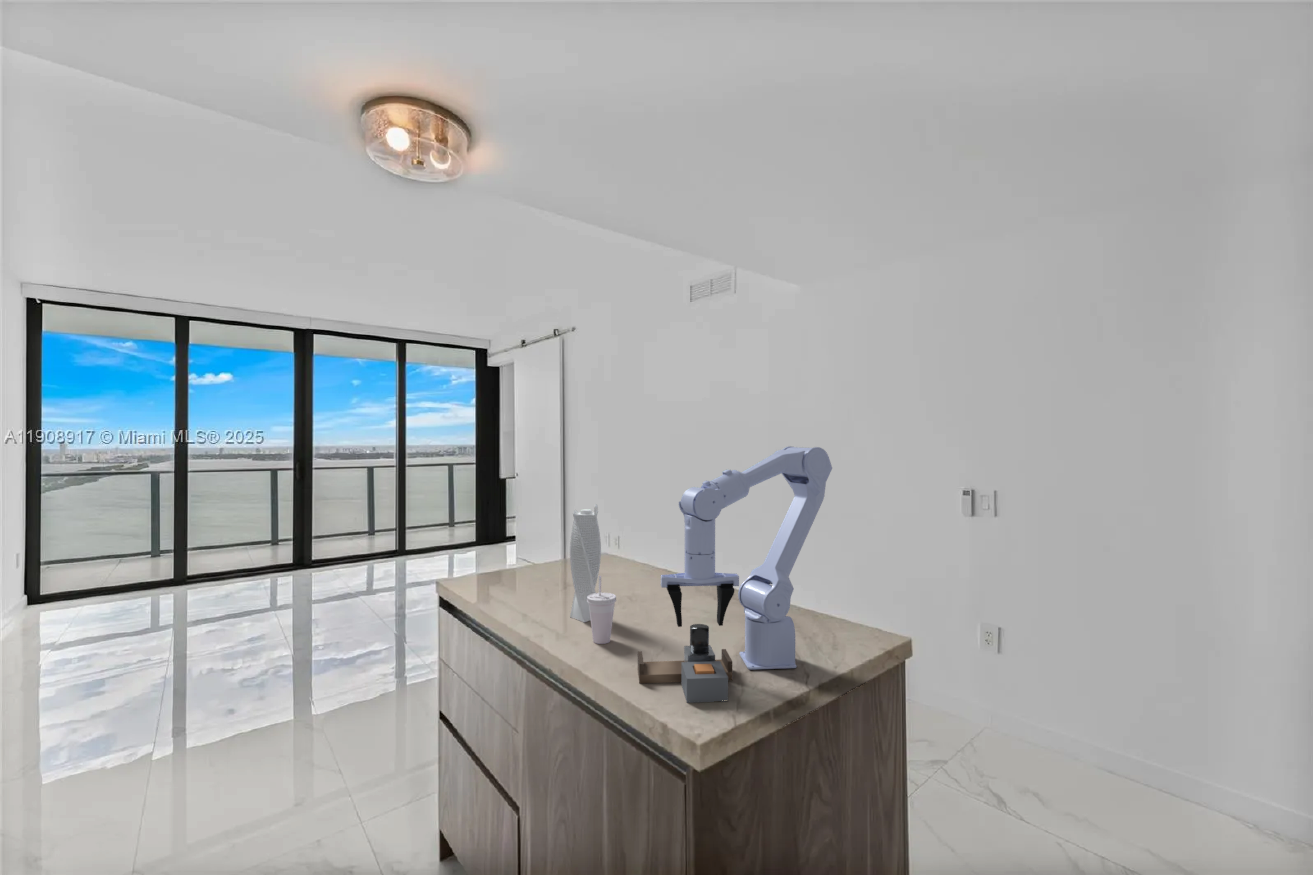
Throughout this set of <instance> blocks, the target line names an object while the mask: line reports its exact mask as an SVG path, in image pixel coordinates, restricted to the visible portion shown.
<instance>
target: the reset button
mask: <svg viewBox="0 0 1313 875" xmlns="http://www.w3.org/2000/svg"><path fill="white" fill-rule="evenodd" d="M694 672H695V674H714V669H713V667H712V665H711V664H694Z"/></svg>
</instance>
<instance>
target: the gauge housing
mask: <svg viewBox="0 0 1313 875" xmlns="http://www.w3.org/2000/svg"><path fill="white" fill-rule="evenodd" d="M694 664H711V665H712V667H713V669H714V674H695V672H694ZM680 683H681V688H682V691H683V694H684V698H685V701H686V703H687V704H688V703H712V702H713V703H715V702H714V701H721V702H725V701H724V700H728V701H729V681H728V676H727V674H726V672H725V670H724V668H723V666H722V664H721V662H720V661H707V662H682V663H681V682H680ZM722 700H723V701H722Z"/></svg>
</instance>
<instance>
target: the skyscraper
mask: <svg viewBox="0 0 1313 875" xmlns="http://www.w3.org/2000/svg"><path fill="white" fill-rule="evenodd" d="M593 509H594V510H592V509H590V508H585V509H584V508H583V509H580V511H579V512H578V510H577V509H575V510H573V512H572V516H573V517H572V518H573V521H572V522H573V523H572V528H571V536H570V541H569V542H570V543H569V545H570V546H569V559H570V560H569V562H570V571H571V579H572V582H573V583H572V584H573V589H574V594H573V600H572V604H571V610H570V615H569V617H570V618H571V619H574V618H575V619H574V620H576V619H577V621H580V622H582V623H587V622H591V619H590V611H589V603H588V602H587V596H588V595H590V594H594V593H597V592H596V587H597V583H598V582H597V581H598V579H599V572H600V566H601V561H602V560H601V556H602V542H601V533H600V526H599V522H598V521H599V520H598V513H599V507H598V504H596V503H595V504H594V506H593Z"/></svg>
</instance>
